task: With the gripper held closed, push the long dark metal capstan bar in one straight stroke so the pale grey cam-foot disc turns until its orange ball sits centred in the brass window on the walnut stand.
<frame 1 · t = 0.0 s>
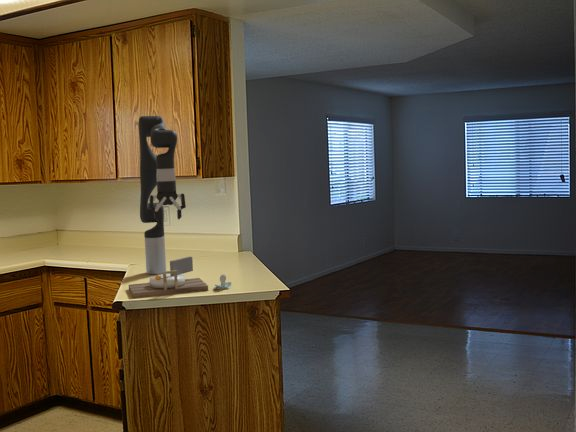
hand: (168, 220, 265), 29 cm above the counter, fingers open, 8 cm apart
stand: (168, 289, 271), on the counter
cam foot: (173, 271, 273), point 7 cm above the counter, hinge at -50.0°
pacifier: (222, 289, 270), on the counter
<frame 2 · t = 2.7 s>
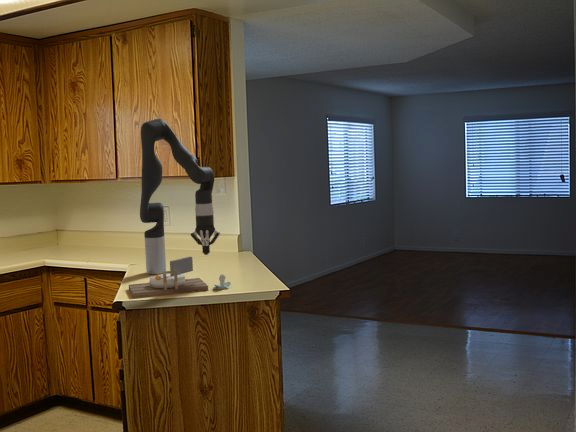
hand: (206, 254, 280), 13 cm above the counter, fingers closed
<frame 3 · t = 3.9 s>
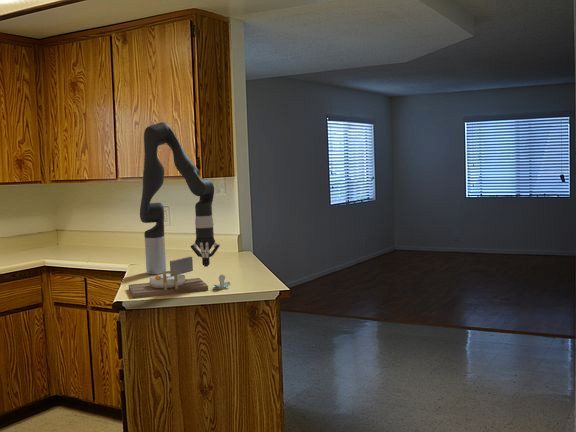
hand: (206, 266, 281), 7 cm above the counter, fingers closed
nothing on the counter moved.
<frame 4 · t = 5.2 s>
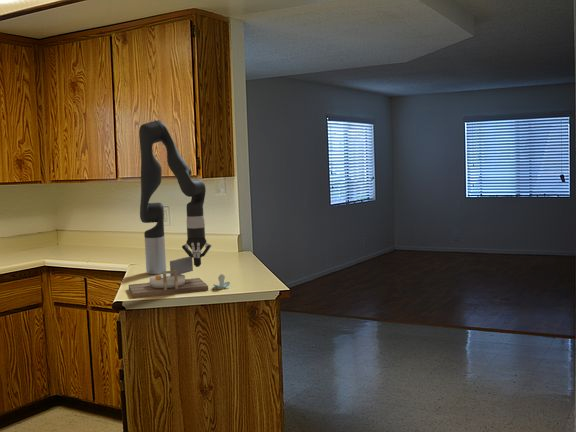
hand: (197, 266, 281), 7 cm above the counter, fingers closed
cam foot: (173, 271, 273), point 7 cm above the counter, hinge at -49.9°, touching gripper
everything else where it was.
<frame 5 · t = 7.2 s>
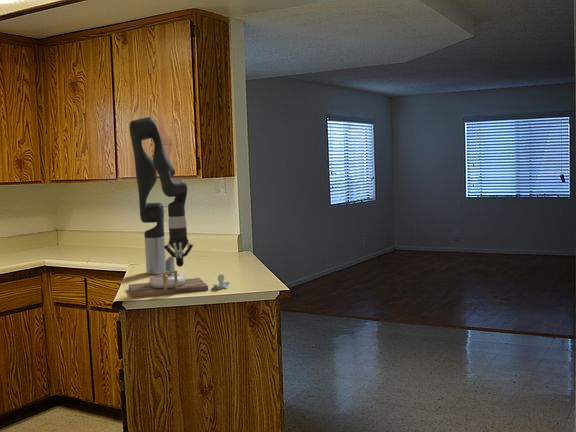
hand: (180, 266, 282), 8 cm above the counter, fingers closed
cam foot: (168, 271, 274), point 7 cm above the counter, hinge at -17.1°, touching gripper
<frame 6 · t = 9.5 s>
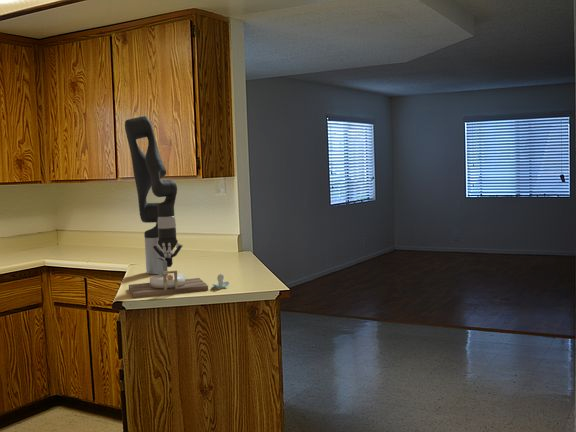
hand: (169, 266, 282), 8 cm above the counter, fingers closed
cam foot: (164, 271, 274), point 7 cm above the counter, hinge at 4.7°, touching gripper
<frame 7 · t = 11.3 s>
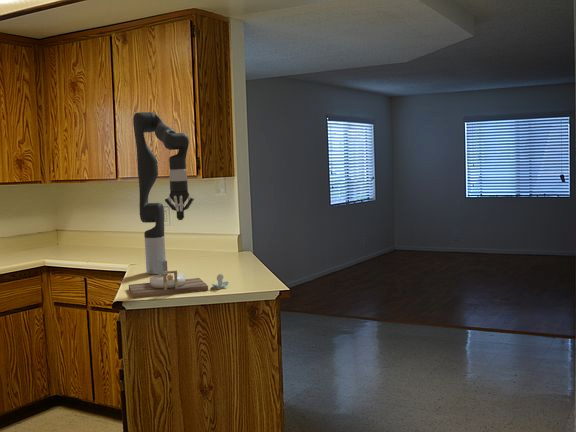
hand: (180, 219, 283), 27 cm above the counter, fingers closed
cam foot: (164, 271, 274), point 7 cm above the counter, hinge at 4.8°
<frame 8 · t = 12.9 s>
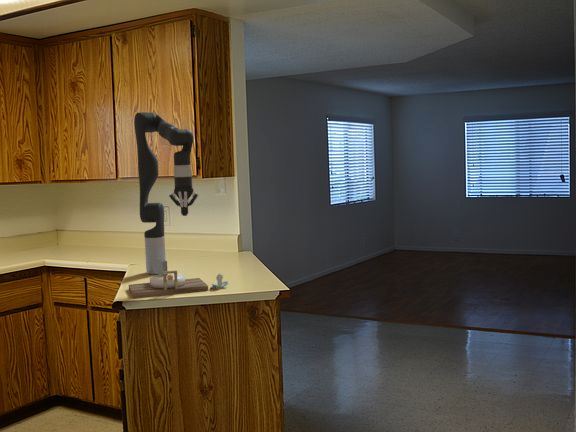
hand: (184, 215, 284), 29 cm above the counter, fingers closed
at the end: cam foot at +5° (first picture: -50°); pacifier moved 2.4 cm from its start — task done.
